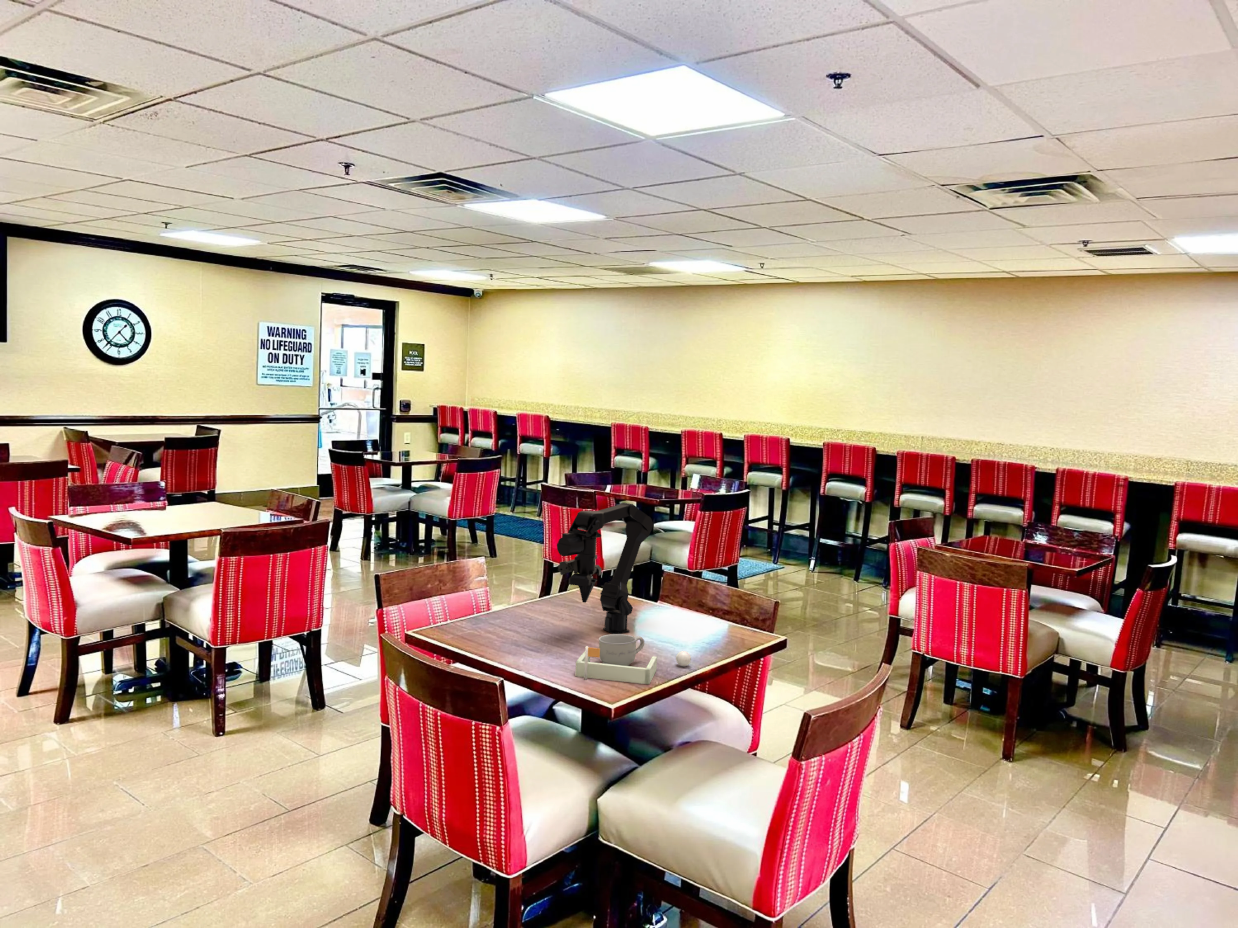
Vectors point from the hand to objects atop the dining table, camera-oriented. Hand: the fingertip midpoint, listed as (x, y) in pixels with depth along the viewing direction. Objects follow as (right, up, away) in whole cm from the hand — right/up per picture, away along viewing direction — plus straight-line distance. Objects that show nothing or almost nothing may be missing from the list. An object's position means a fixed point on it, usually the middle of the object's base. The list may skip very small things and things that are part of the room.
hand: (584, 602), depth 271 cm
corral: (+10, -15, -29) cm, 35 cm away
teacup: (+11, -15, -21) cm, 28 cm away
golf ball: (+29, -13, -20) cm, 38 cm away
